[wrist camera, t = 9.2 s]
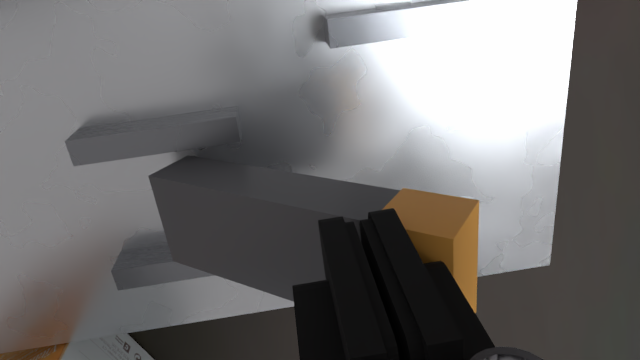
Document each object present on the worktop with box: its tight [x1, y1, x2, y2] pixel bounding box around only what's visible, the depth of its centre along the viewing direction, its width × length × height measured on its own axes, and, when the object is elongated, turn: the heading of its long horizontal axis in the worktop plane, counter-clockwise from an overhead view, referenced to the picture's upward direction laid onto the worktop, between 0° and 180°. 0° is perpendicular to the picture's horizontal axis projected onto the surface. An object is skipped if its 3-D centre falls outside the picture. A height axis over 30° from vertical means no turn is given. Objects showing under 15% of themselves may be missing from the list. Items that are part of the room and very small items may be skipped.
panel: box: [0, 0, 577, 354], centre depth 16 cm, size 23×16×4 cm
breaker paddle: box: [148, 155, 479, 313], centre depth 13 cm, size 2×3×9 cm
